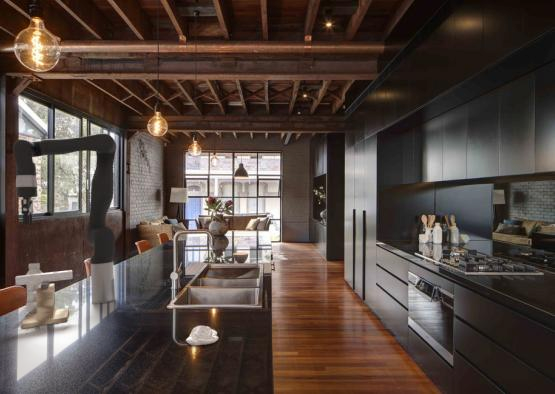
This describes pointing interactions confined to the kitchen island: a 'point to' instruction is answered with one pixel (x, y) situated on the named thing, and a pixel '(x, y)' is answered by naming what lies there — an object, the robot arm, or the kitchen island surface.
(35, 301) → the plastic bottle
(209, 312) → the kitchen island surface
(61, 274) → the aluminium bar
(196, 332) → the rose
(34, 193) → the robot arm
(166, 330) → the kitchen island surface
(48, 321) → the balance stand
